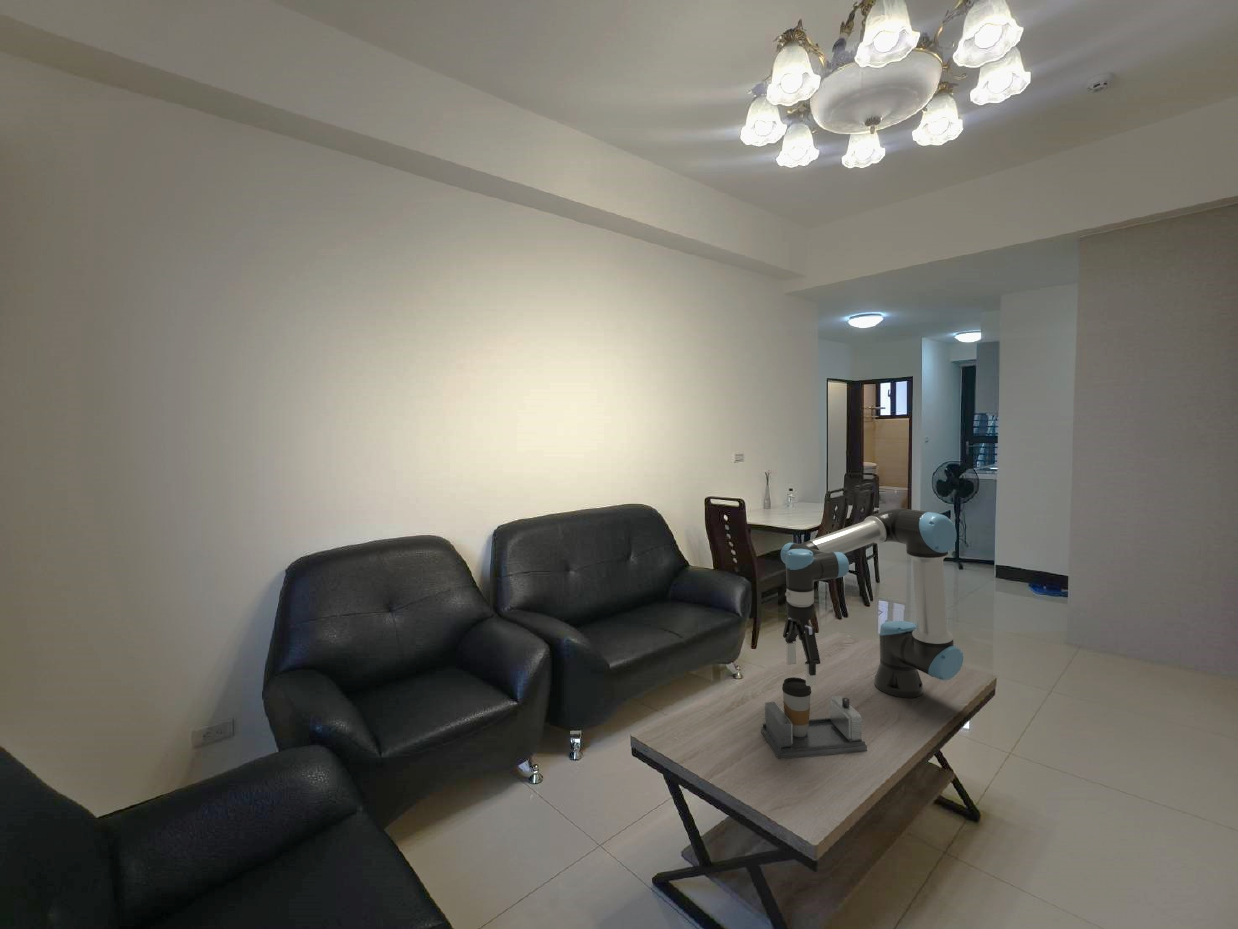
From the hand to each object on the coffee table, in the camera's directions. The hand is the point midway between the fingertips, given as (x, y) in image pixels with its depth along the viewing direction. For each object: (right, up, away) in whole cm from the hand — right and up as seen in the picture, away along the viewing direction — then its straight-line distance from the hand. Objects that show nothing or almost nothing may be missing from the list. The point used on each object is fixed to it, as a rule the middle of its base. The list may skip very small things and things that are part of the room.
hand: (800, 674), depth 157 cm
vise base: (+4, -20, +2) cm, 21 cm away
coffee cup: (0, -19, +4) cm, 19 cm away
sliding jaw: (+14, -18, +3) cm, 23 cm away
